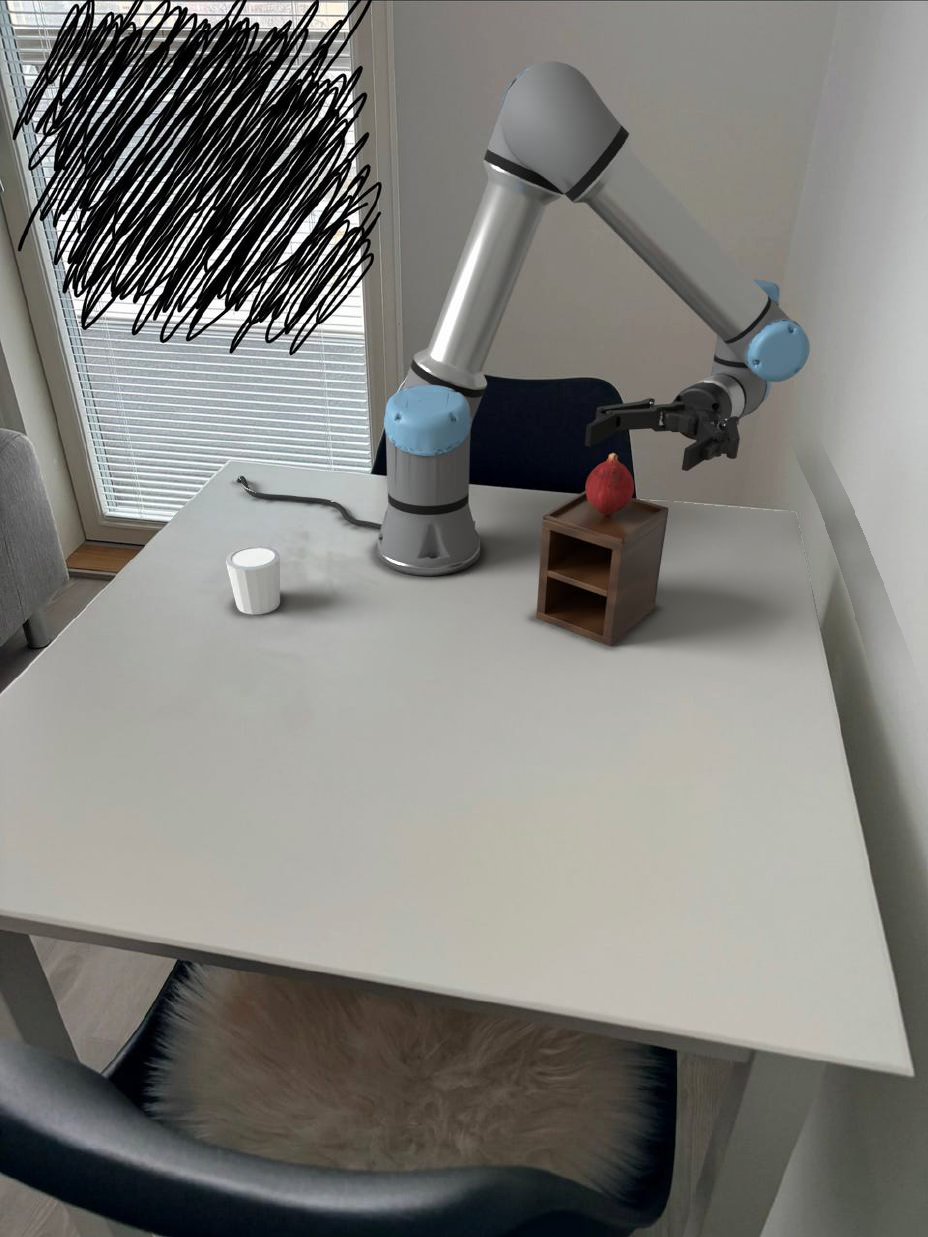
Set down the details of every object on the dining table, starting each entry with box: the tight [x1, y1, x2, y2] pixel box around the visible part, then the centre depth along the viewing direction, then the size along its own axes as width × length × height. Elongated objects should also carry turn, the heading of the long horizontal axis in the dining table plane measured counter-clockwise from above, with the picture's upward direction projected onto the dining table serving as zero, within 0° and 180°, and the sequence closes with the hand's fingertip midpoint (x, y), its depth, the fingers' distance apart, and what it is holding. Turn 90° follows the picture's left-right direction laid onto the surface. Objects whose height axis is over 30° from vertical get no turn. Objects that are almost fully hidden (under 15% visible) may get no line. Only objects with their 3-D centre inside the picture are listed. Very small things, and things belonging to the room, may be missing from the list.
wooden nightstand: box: [535, 490, 670, 647], centre depth 112 cm, size 11×12×15 cm
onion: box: [585, 452, 635, 516], centre depth 106 cm, size 6×6×8 cm
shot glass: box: [225, 545, 281, 616], centre depth 115 cm, size 7×7×7 cm
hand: (635, 447), depth 109 cm, fingers open, 13 cm apart
